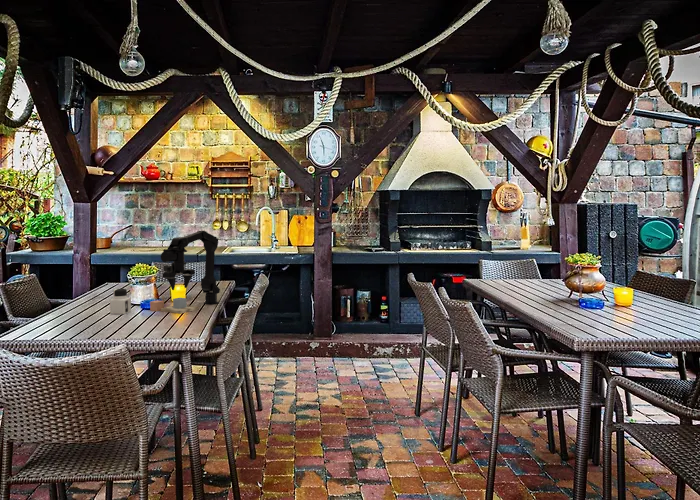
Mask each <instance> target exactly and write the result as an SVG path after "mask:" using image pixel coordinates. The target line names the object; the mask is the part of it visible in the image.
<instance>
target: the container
mask: <svg viewBox="0 0 700 500" xmlns="http://www.w3.org/2000/svg"><path fill="white" fill-rule="evenodd" d="M131 299H132V298H131V297H128V292H127V289H126V288H115V289H114V290H113V298H111V299H110V300H109V313H110V314H111V315H125V314H129V313H130V312H131V311H132V309H131V308H132V303H131V302H132V300H131Z"/></svg>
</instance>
